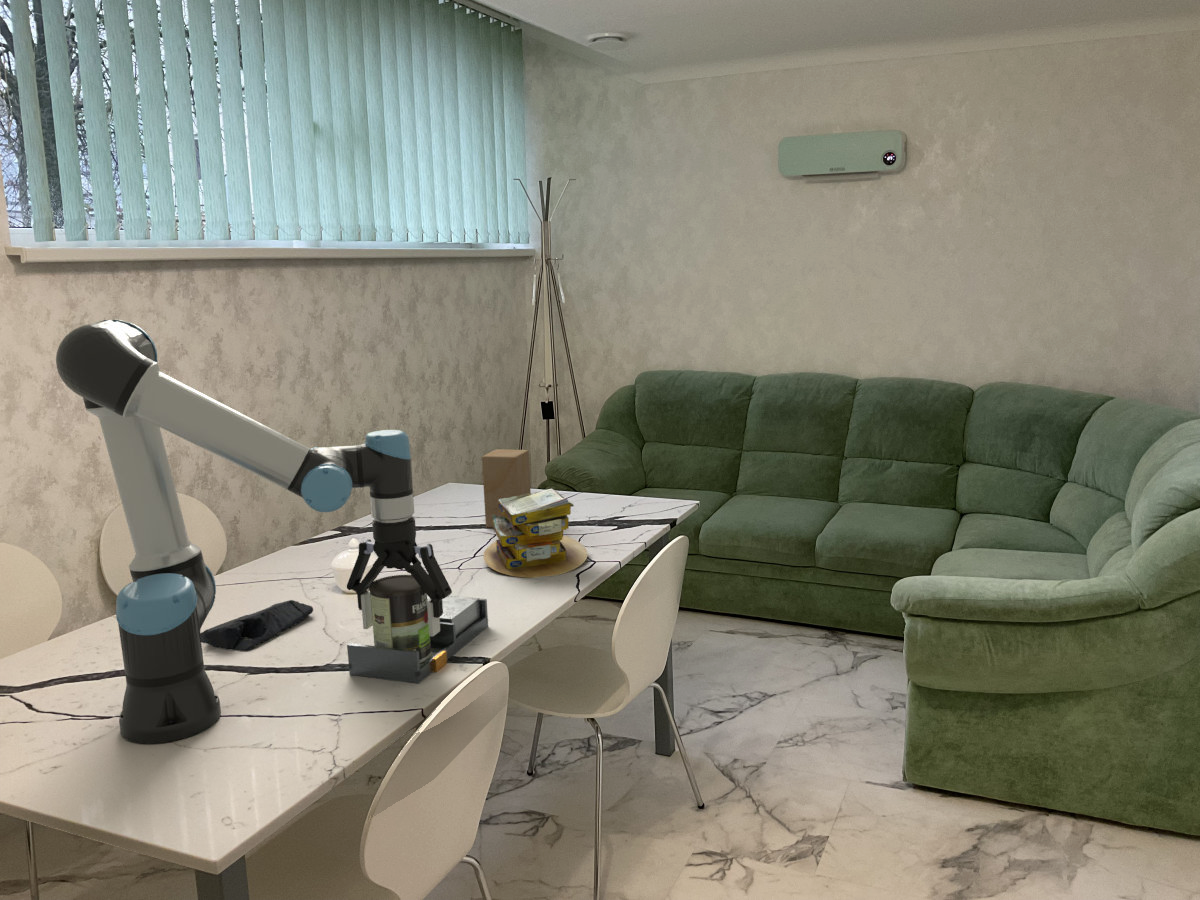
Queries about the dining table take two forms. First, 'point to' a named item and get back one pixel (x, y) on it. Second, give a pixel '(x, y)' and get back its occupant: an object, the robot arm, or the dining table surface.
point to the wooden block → (504, 479)
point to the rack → (456, 631)
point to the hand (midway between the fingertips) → (401, 630)
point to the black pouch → (256, 626)
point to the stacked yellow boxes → (534, 537)
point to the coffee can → (400, 614)
